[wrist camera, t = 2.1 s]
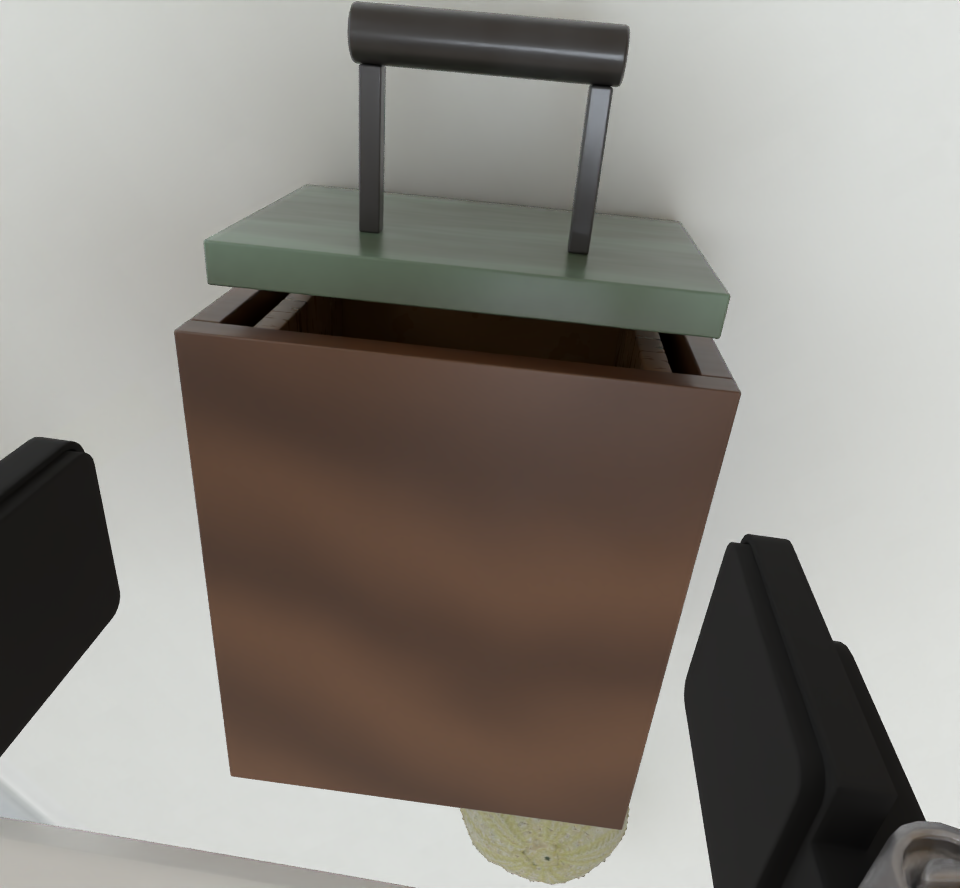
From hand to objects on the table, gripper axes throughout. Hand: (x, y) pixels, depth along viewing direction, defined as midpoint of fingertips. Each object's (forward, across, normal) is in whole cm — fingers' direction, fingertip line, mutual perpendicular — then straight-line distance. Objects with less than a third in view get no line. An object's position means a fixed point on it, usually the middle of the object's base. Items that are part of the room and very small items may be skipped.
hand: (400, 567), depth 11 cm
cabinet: (+20, +1, +10) cm, 22 cm away
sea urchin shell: (+20, -5, +30) cm, 36 cm away
